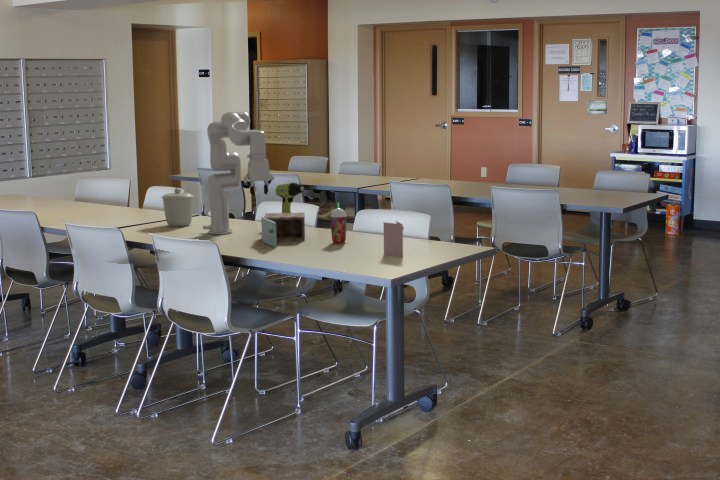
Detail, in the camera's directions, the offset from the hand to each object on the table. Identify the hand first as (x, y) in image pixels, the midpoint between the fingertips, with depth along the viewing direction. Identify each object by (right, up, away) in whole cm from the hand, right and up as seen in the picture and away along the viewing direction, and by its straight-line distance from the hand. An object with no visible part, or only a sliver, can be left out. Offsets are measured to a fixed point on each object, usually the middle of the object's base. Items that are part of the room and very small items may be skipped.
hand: (259, 193), depth 456 cm
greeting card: (+64, -29, -25) cm, 75 cm away
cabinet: (+10, -21, +26) cm, 35 cm away
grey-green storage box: (+3, -24, +8) cm, 26 cm away
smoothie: (+38, -24, +10) cm, 46 cm away
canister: (-53, -14, +75) cm, 93 cm away
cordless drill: (+12, -16, +59) cm, 62 cm away
